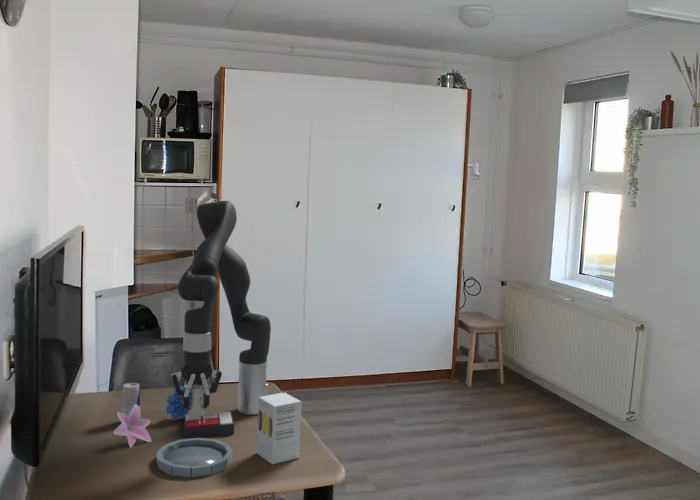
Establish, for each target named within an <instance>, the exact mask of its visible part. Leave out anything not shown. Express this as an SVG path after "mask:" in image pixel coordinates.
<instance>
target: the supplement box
mask: <svg viewBox="0 0 700 500" xmlns="http://www.w3.org/2000/svg"><path fill="white" fill-rule="evenodd" d="M302 403H303V401H301V400H299V399H298V398H296V397H294V396H292V395H290V394H288V393H287V392H285V391H284V392H279V393H274V394H267V396H262V397H259V401H258V414H257V429H256V430H257V432H256V450H255V451H256V452H255V453H256V454H257V455H259V457H261V458H262V459H264V460H265V461H266V462H268V463H269V464H271V465H275V464H276V465H277V464H279V463H280V464H281V463H283V462H287V461H291V460H295V459H299V458H300V450H301V430H302V429H301V426H302V425H301V424H302V410H303V404H302Z"/></svg>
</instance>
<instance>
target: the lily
mask: <svg viewBox="0 0 700 500" xmlns="http://www.w3.org/2000/svg"><path fill="white" fill-rule="evenodd" d="M116 415H117V417H118V420H119V421H120V422H121V423H120V424H119V425H118V427H116V428H115V430H113V435H117V436H123V437H122V439H124V438H125V437H127V444H128V446H129V448H133V446H134V445H135V442H136V440H137V439H139V440H141V441H146V442H148V443H151V442H152V438H151V436H150V434H149V432H148V430H147V429H146V427H147V426H148V425H149V424H150V423H151V420H150V419H149V418H148V419H147V418H142V415H141V409H140V410H139V407H138V405H137V404H135V405H134V407H133V408H132V410H131V412H130V413H129V415H128V416H127V415H126V414H123V413H122V412H119V411H117V412H116Z"/></svg>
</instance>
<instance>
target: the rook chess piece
mask: <svg viewBox="0 0 700 500" xmlns="http://www.w3.org/2000/svg"><path fill="white" fill-rule="evenodd" d="M194 386H195V387H194ZM197 386H198V387H197ZM191 392H192V395H191V396H192V400H191V405H190V407H189V410H188V411H189V412H188V415H189V416H191V417H200V416H202V415H203V414H204V413H205V408H204V407H203V403H202V399H201V396H202V392H203V387H202V385H201V384H195V385H192V388H191Z"/></svg>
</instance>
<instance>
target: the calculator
mask: <svg viewBox="0 0 700 500" xmlns="http://www.w3.org/2000/svg"><path fill="white" fill-rule="evenodd" d="M218 435H219V436H233V435H235V422H234V417H233V413H232V412H231V411H222V412H204V414H203V415H202V416H200V417H191V416H189V415H185V416H184V419H183V437H184V438H191V437H192V438H193V437H194V438H198V437H210V436H218Z"/></svg>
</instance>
